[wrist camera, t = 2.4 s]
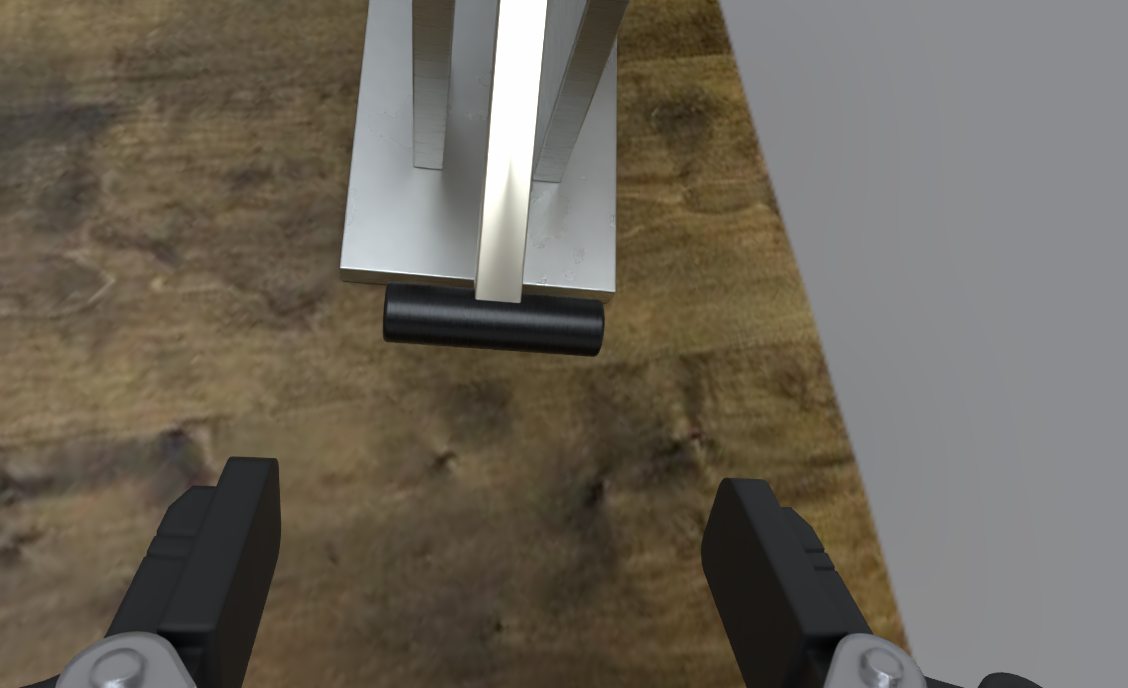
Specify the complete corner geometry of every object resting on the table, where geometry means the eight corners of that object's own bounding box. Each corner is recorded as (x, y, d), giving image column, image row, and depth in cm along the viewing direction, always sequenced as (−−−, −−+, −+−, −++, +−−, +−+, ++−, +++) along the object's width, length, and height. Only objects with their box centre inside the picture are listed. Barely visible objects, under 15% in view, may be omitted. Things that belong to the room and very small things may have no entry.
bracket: (607, 303, 26) (770, 90, 14) (342, 281, 25) (272, 20, 13) (609, 15, 30) (743, -358, 18) (375, -21, 28) (345, -457, 16)
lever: (586, 348, 20) (605, 365, 18) (386, 333, 19) (379, 349, 17) (638, -144, 18) (667, -197, 16) (420, -186, 17) (417, -248, 15)
